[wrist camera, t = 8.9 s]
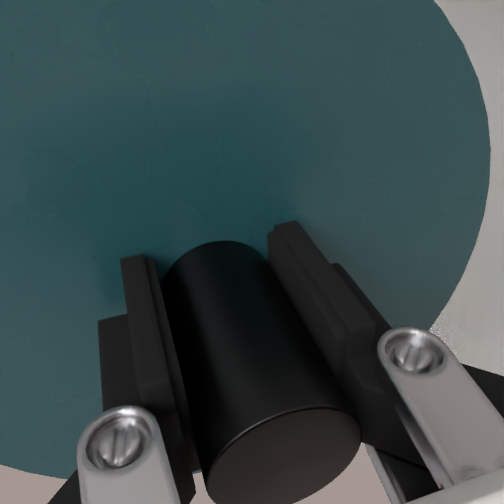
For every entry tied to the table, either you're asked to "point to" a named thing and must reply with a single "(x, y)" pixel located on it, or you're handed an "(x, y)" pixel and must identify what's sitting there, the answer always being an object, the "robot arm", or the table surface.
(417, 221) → the pot lid
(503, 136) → the table surface
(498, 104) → the table surface
